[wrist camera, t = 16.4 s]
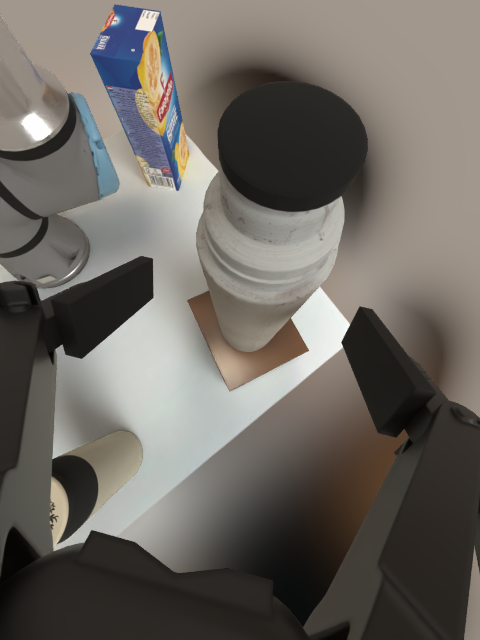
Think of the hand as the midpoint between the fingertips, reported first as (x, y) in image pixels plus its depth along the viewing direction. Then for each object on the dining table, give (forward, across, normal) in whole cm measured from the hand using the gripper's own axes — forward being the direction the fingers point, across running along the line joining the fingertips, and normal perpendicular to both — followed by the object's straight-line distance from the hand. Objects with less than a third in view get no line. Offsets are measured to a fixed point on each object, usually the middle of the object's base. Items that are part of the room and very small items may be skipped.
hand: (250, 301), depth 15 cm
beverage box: (+48, -26, +5) cm, 54 cm away
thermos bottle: (+16, 0, -12) cm, 20 cm away
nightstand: (+23, 0, -19) cm, 30 cm away
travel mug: (+6, -16, -36) cm, 40 cm away
